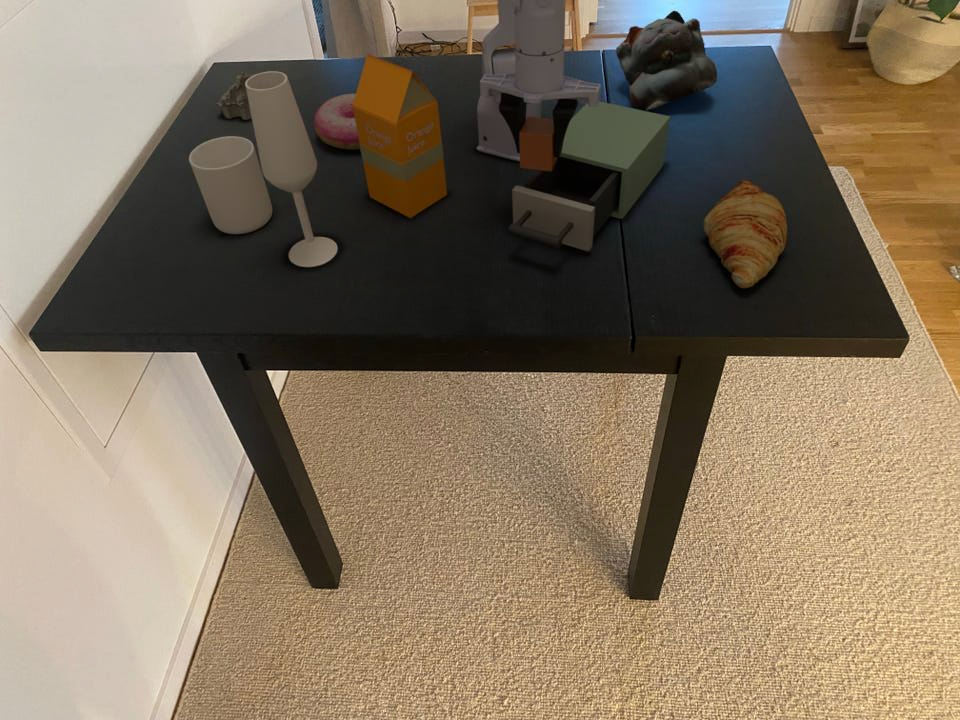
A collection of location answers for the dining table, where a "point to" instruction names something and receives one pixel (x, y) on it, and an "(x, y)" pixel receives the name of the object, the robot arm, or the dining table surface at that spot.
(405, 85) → the orange juice
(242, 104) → the grey rough lump
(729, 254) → the croissant
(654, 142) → the green drawer box
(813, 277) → the dining table surface
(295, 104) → the champagne flute
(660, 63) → the lucky cat figurine
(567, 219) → the cream drawer
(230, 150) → the mug
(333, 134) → the donut
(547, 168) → the rust orange cube
